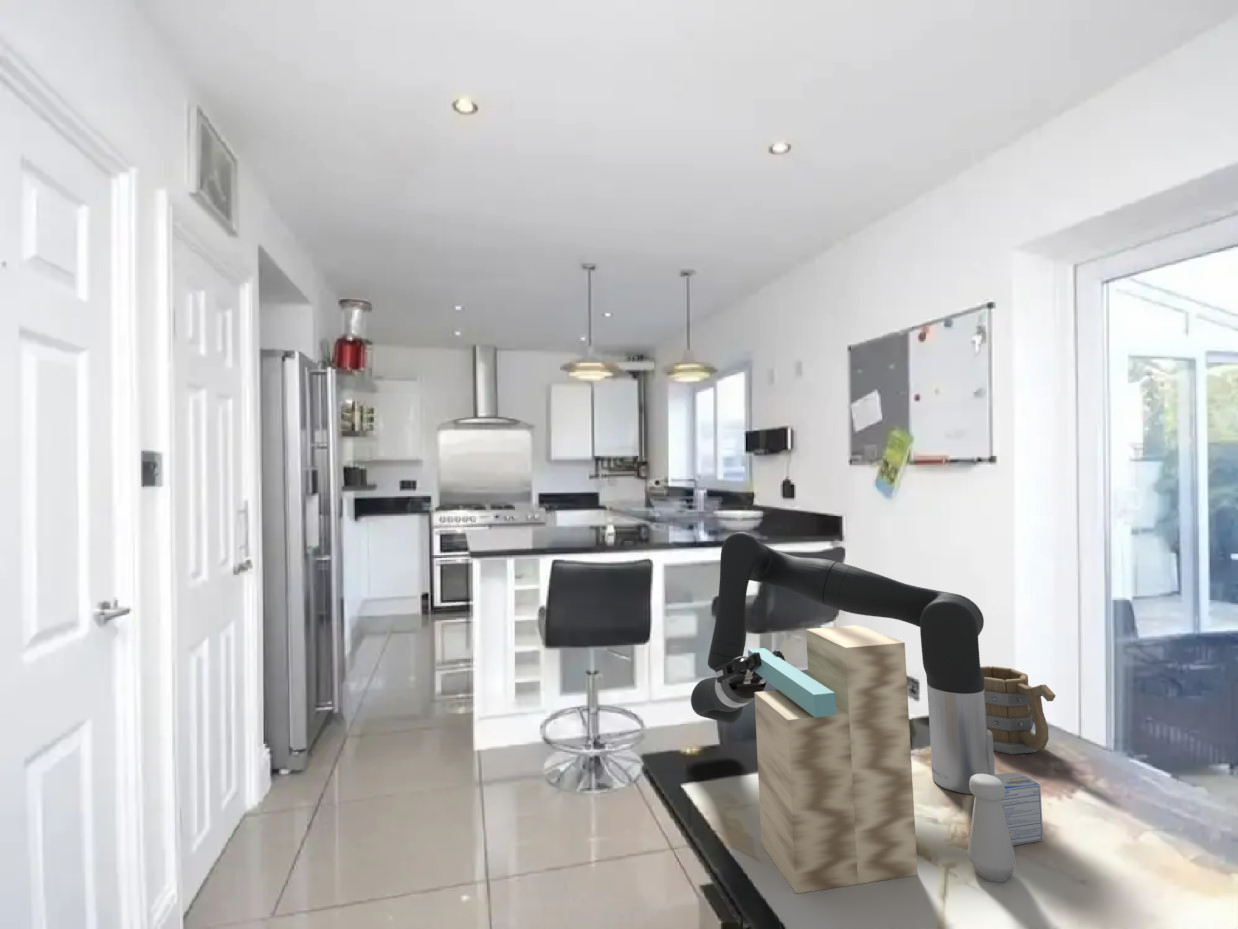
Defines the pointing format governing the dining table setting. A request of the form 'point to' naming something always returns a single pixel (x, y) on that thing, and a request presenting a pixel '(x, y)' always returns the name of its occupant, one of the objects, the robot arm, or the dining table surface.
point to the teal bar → (795, 684)
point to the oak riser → (840, 767)
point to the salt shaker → (990, 830)
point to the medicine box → (1022, 807)
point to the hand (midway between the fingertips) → (769, 657)
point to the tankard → (1015, 711)
